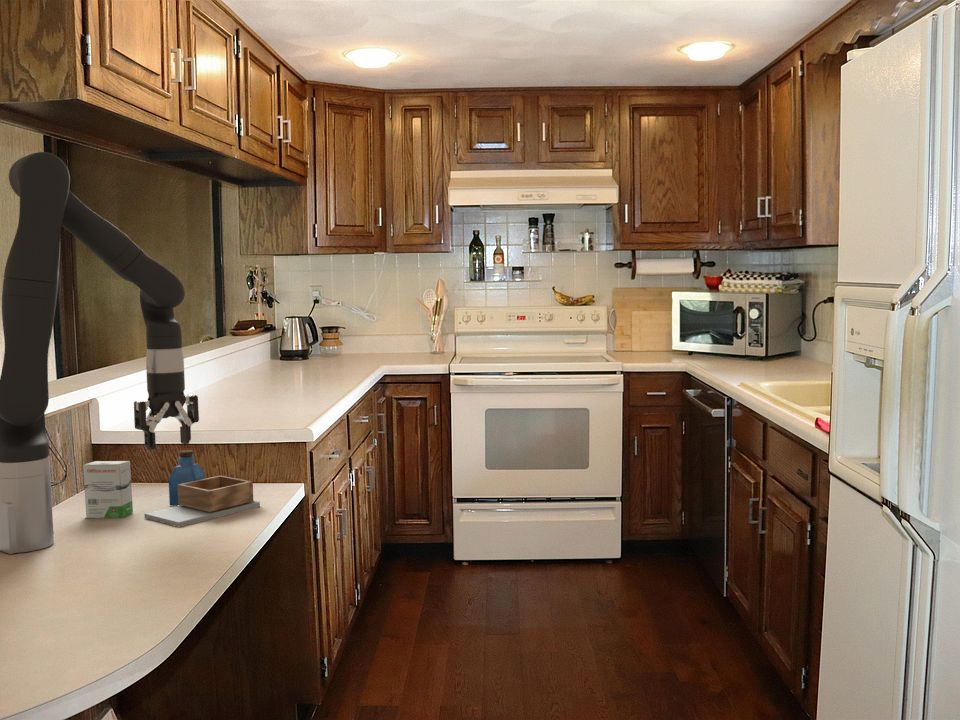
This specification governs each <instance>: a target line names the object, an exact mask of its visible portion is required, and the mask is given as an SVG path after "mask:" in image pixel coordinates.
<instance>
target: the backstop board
mask: <svg viewBox="0 0 960 720" xmlns="http://www.w3.org/2000/svg"><path fill="white" fill-rule="evenodd" d="M252 487H253V488H254V484H253V482H252ZM258 507H261V502H260V501H257V500H253V501H252V502H248V503H244V504H240V505H236V506H232V507H228V508H224V509H219V510H215V511H211V512H208V511H204V510H199V509H195V508H191V507H187V506H182V505H179V506H172V507H171V506H170V507H166V508H162V509H159V510H154V511H149V512H146V513H144V519H146V518H148V519H147V520H150V519H152V520H151V521H154V520H156V521H155V522H158V521H160V522H159V523H161V522H164V523H163V524H165V523H168V524H167V525H169V524H171V525H170V526H173V525H175V526H174V527H177V526H181V527H183V526H182V525H185V526H187V525H186V524H189V525H192V524H196V523H201V522H204V521H208V520H212V519H215V518H219V517H223V516H227V515H232V514H235V513H238V512H243V511H246V510H251V509H254V508H258Z"/></svg>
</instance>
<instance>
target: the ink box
mask: <svg viewBox="0 0 960 720" xmlns="http://www.w3.org/2000/svg"><path fill="white" fill-rule="evenodd" d="M82 466H83V470H82V471H83V482H84V483H83V486H84V500H85V501H84V502H85V503H84V504H85V518H88V519H96V518H98V519H102V518H103V519H104V518H105V519H106V518H107V519H110V518H112V519H115V518H116V519H121V518H122V519H123V518H125V517H128V516H129V515H131V514H132V513H134V511H133V510H134V509H133V508H134V507H133V491H132V490H133V489H132V474H131V461H130V460H114V461H113V460H110V461H108V460H104V461H101V460H95V461H92V462H88V463H85V464H84V465H82Z"/></svg>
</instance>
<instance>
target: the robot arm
mask: <svg viewBox="0 0 960 720" xmlns="http://www.w3.org/2000/svg"><path fill="white" fill-rule="evenodd" d="M8 180H9V181H8V182H9V185H10V187H11V189H12V191H13V192H14V194H15V195H17V197H19V213H18V214H19V215H18V224H17V229H16V232H15V236H14V238H13V241H12V244H11V247H10V250H9V252H8V256H7V259H6V263H5V268H4V272H3V273H4V274H3V282H2V294H1V317H2V319H1V321H2V328H3V338H4V339H3V340H4V354H3V360H2V361H3V362H2V367H1V372H0V373H1V374H0V551H1V552H3V553H7V554H9V555H13V554H16V553H26V552H27V553H28V552H34V551H39V550H43V549H47V548H48V547H50V546H52V545H54V543H55V536H54V535H55V531H54V520H53V519H54V518H53V497H52V496H53V495H52V481H51V462H50V460H51V459H50V445H49V439H48V434H47V429H46V417H45V413H46V411H47V409H48V406H49V400H50V399H49V395H50V393H49V374H48V373H49V349H50V343H51V339H52V335H53V328H54V327H53V326H54V322H55V314H56V307H57V301H58V291H59V290H58V288H59V274H60V273H59V271H60V257H61V236H62V235H61V233H62V228H64V229H65V230H67V231H68V232H69V233H70V234H72V235H73V236H74V237H75V238H76V239H77V240H79V241H80V243H82V244H83V245H84V246H85V247H86V248H88V249H89V250H90V252H92V253H93V254H94V255H95V256H96V257H98V258H99V260H101V261H102V262H103V263H104V264H105V265H106V266H108V268H109V269H111V270H112V271H113V272H114V273H116V275H117V276H119V277H120V278H121V279H123V280H125V281H128V282H129V283H130V282H131V283H132V284H133V285H135V286H136V287H137V288H139V304H140V308H141V314H142V317H143V318H142V319H143V322H144V324H145V329H146V331H145V332H146V333H145V336H146V337H145V339H146V355H145V356H146V357H145V366H146V367H145V368H146V369H145V370H146V389H147V393H148V397H147V400H135V401H134V402H133V416H134V419H133V420H134V428H135V430H139V431H142V432H143V436H144V446H145V448H146V449H147V450H151V451H152V450H153V451H154V450H156V449H157V448H156V447H157V446H156V445H157V443H156V432H155V430H156V428H157V426H158V424H160V423H161V422H162V420H163V419H168V418H170V417H171V418H175V419H177V421H178V422H179V424H180V425H181V426H179V431H180V432H179V433H180V434H179V435H180V443H181V444H182V445H189V444H190V441H192V440H191V439H192V433H191V431H192V430H191V429H192V428H191V427H192V425H193V424H195V423H199V421H200V415H199V414H200V411H199V397H198V395H196V394H187V395H185V393H184V392H185V389H186V385H185V358H184V353H183V339H182V338H183V337H182V326H181V324H180V323H179V322H178V321H177V320H176V318H175V313H174V308H176V307H178V306H179V305H180V304H182V302H183V301H184V300H185V299H184V298H185V294H186V293H185V287H184V285H183V283H182V281H181V280H180V279H179V278H178V277H177V276H176V275H175V274H174V273H173V272H171V271H170V270H169V269H167V268H166V267H165V266H164V265H162V264H160V263H159V262H158V261H156V260H154V259H153V258H151V257H150V256H149V255H148V254H147V253H145V251H144V250H143V249H141V247H140V246H138V245H137V244H136V243H135V241H133V240H132V239H131V238H130V237H129V236H128V235H127V234H126V233H125V232H123V231H122V230H121V229H120V228H118V227H117V226H115V225H114V224H112V223H111V222H110V221H108V220H107V219H105V218H103V217H102V216H101V215H99V214H98V213H96V212H94V211H93V210H92V209H90V207H88V206H87V205H86V204H85V203H84V202H83V201H81V199H79V198H78V197H77V196H76V195H75V194H74V193H73V192H72V191H71V190H70V186H71V185H70V184H71V176H70V172H69V169H68V167H67V165H66V163H65V162H64V161H63V160H62V159H61V158H60V157H59V156H57V155H56V154H54V153H52V152H48V151H38V152H32V153H30V154H28V155H25V156H23V157H20V158H18V160H16V161H14V163H13V164H12V165H11V166H10V169H9V173H8ZM185 404H186V410H185V408H184V405H185ZM148 408H149V409H150V411H149V412H148V414H147V411H148Z"/></svg>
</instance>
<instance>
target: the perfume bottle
mask: <svg viewBox="0 0 960 720" xmlns="http://www.w3.org/2000/svg"><path fill="white" fill-rule="evenodd" d="M193 453H194V450H192V449H183V450H179V451H178V454H179V456H178V457H177V458H178V459H177V460H178V462H179V464H178V465H176V466H174V468H173V470H172V472H171V474H170V475H169V478H168V494H169V495H168V497H169V498H168V499H169V506H170V505H178V487H177V485H178V484H183V483H188V482H192V481H197V480H202V479H206V473H205V471H204V470H203V469H202V467H201V466H200V464H199V463H194V461H195V456H194V454H193Z"/></svg>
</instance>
